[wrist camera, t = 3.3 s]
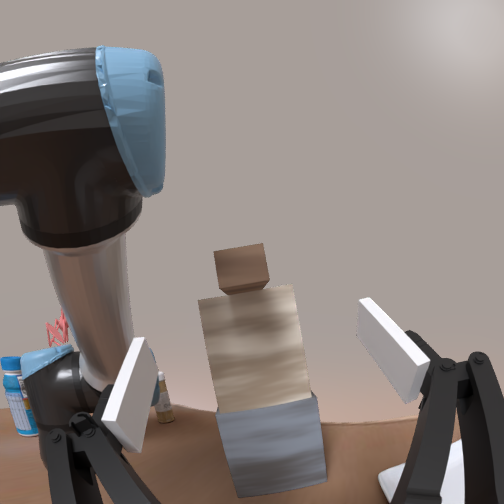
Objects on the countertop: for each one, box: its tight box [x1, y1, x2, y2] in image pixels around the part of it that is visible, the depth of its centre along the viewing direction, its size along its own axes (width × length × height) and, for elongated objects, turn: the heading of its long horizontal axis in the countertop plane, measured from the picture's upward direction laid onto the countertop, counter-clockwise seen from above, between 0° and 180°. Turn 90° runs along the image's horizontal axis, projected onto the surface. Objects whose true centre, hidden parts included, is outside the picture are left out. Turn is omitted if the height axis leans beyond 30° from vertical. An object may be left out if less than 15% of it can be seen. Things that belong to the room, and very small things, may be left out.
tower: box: [198, 284, 327, 498], centre depth 37 cm, size 19×12×28 cm, turn 1°
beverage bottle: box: [0, 357, 38, 437], centre depth 40 cm, size 8×8×20 cm
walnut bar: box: [214, 243, 270, 295], centre depth 35 cm, size 28×4×3 cm, turn 1°
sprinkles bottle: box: [154, 372, 175, 423], centre depth 59 cm, size 5×5×13 cm
